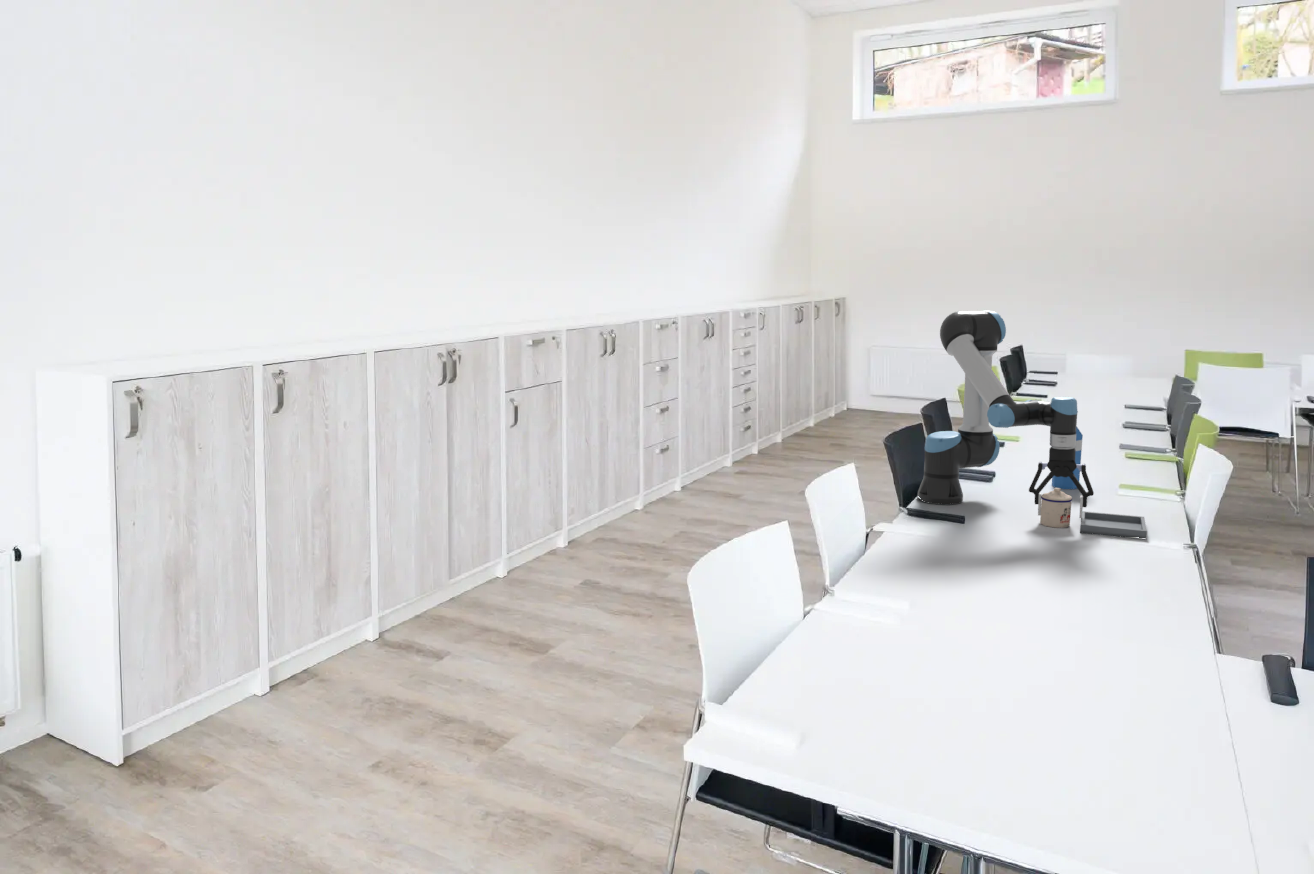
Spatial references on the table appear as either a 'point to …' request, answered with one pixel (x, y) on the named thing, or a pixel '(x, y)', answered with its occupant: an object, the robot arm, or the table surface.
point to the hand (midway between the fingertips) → (1059, 515)
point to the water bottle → (1066, 481)
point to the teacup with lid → (1055, 509)
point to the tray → (1113, 525)
